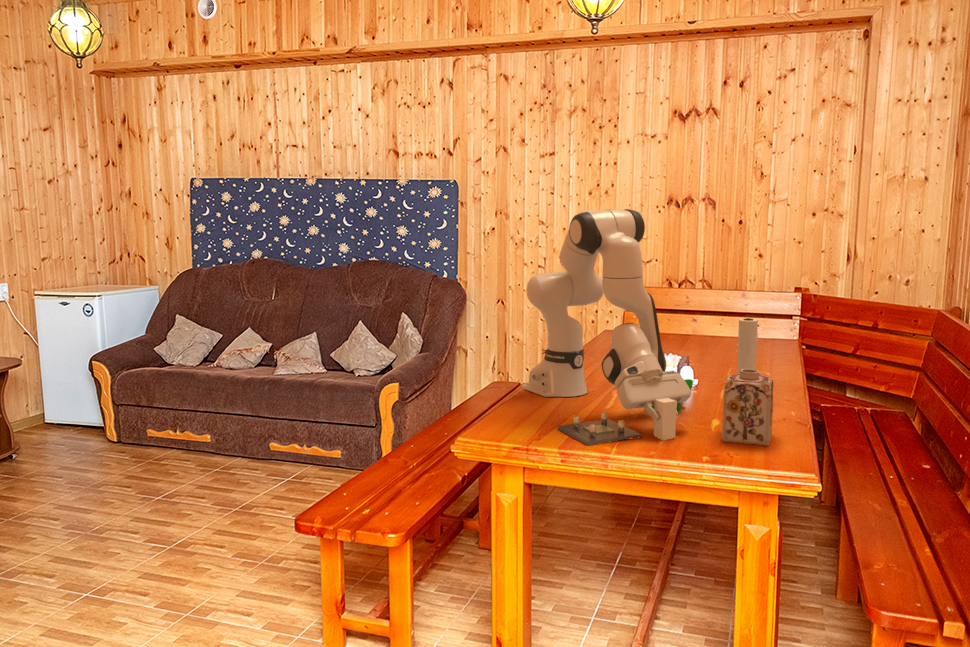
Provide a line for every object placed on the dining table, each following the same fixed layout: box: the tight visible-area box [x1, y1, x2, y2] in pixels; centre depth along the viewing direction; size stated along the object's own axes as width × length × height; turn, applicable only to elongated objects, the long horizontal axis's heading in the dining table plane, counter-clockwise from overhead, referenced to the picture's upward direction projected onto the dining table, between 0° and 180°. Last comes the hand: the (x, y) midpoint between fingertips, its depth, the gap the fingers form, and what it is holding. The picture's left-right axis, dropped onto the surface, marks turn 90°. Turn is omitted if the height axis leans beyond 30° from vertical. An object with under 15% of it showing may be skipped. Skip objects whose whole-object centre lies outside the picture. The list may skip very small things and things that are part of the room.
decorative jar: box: [721, 369, 774, 447], centre depth 209 cm, size 12×12×18 cm
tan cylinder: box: [736, 317, 759, 374], centre depth 272 cm, size 7×6×21 cm
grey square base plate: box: [557, 412, 642, 446], centre depth 216 cm, size 16×16×4 cm
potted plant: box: [651, 379, 694, 412], centre depth 249 cm, size 12×16×35 cm
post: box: [653, 398, 677, 441], centre depth 212 cm, size 4×4×10 cm
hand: (666, 417), depth 211 cm, fingers closed on post, 4 cm apart
